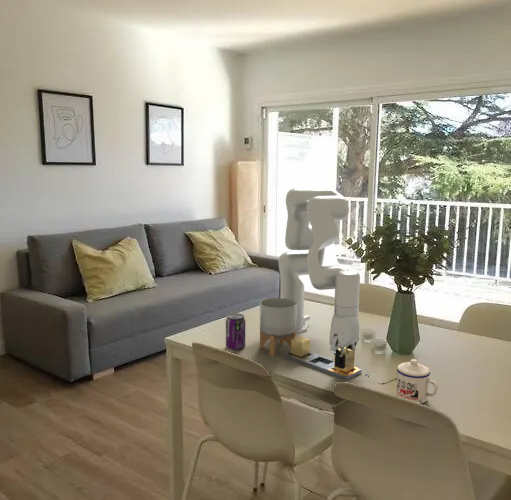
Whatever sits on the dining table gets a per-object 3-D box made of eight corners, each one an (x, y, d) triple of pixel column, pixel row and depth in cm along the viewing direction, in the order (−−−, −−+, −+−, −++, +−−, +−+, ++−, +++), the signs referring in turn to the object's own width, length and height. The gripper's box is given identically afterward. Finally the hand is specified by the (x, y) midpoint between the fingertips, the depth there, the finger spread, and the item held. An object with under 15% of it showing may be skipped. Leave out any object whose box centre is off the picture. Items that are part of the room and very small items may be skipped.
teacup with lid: (389, 398, 147) (391, 360, 145) (404, 388, 153) (406, 351, 151) (429, 412, 139) (432, 372, 137) (443, 401, 145) (446, 362, 143)
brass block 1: (299, 353, 179) (299, 336, 178) (309, 357, 176) (310, 339, 175) (291, 357, 176) (291, 339, 175) (301, 360, 173) (301, 342, 171)
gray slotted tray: (298, 352, 181) (298, 347, 181) (361, 374, 163) (361, 369, 163) (283, 358, 176) (283, 353, 175) (346, 381, 158) (347, 376, 157)
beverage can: (242, 352, 181) (243, 319, 179) (223, 350, 183) (223, 318, 181) (247, 345, 188) (247, 313, 186) (228, 343, 189) (228, 312, 187)
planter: (289, 359, 175) (291, 309, 172) (254, 354, 179) (254, 305, 176) (299, 346, 187) (300, 299, 184) (266, 342, 191) (266, 296, 188)
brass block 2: (342, 366, 166) (343, 347, 165) (353, 370, 163) (354, 350, 162) (334, 369, 163) (334, 350, 162) (345, 374, 160) (346, 354, 159)
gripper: (351, 302, 168) (349, 355, 171) (320, 312, 156) (318, 369, 159) (371, 307, 163) (368, 361, 166) (340, 318, 151) (338, 376, 154)
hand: (344, 364), depth 163 cm, fingers closed on brass block 2, 4 cm apart
